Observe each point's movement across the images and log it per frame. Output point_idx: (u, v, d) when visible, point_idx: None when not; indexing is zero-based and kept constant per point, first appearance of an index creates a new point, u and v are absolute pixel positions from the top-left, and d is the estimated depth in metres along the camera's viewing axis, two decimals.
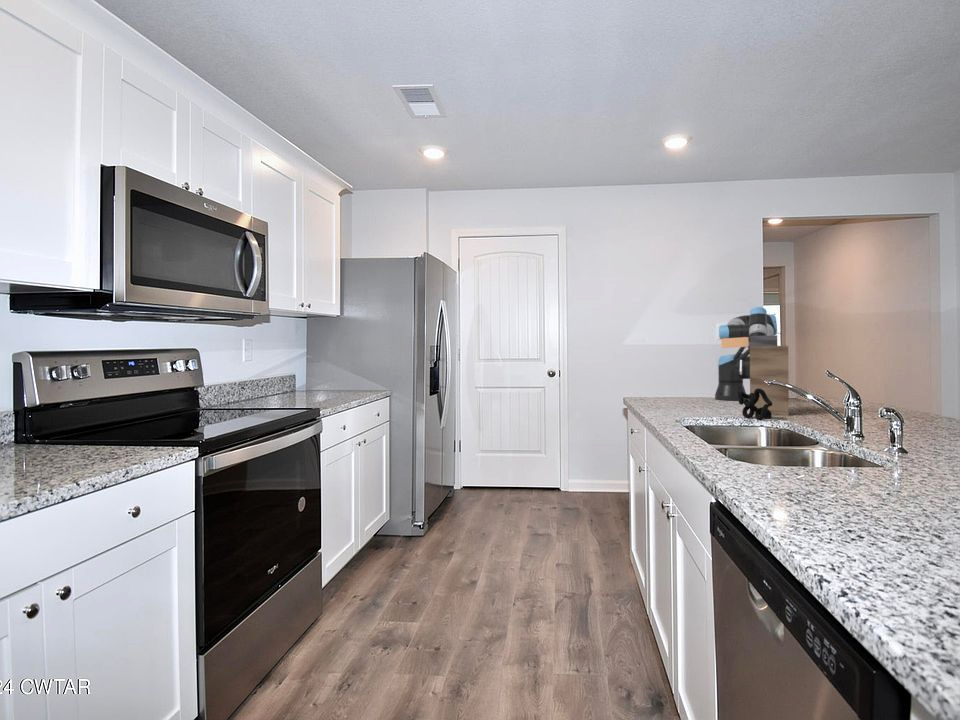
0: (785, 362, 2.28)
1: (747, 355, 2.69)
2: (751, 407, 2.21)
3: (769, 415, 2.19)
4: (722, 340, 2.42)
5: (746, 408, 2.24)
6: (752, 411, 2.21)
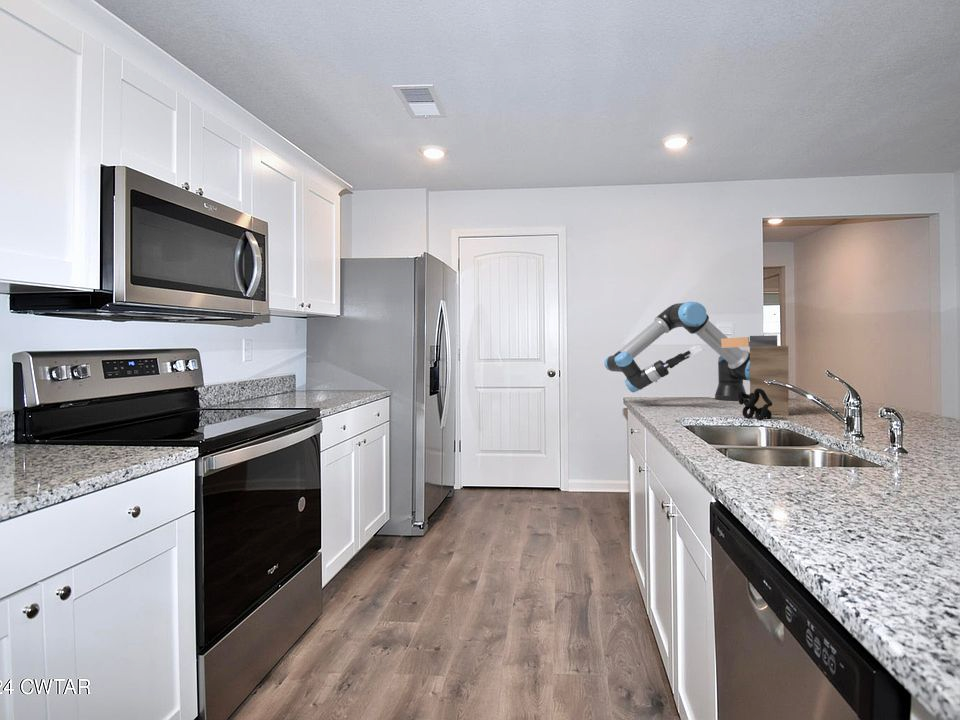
0: (785, 362, 2.28)
1: None
2: (751, 407, 2.21)
3: (769, 415, 2.19)
4: (722, 340, 2.42)
5: (746, 408, 2.24)
6: (752, 411, 2.21)
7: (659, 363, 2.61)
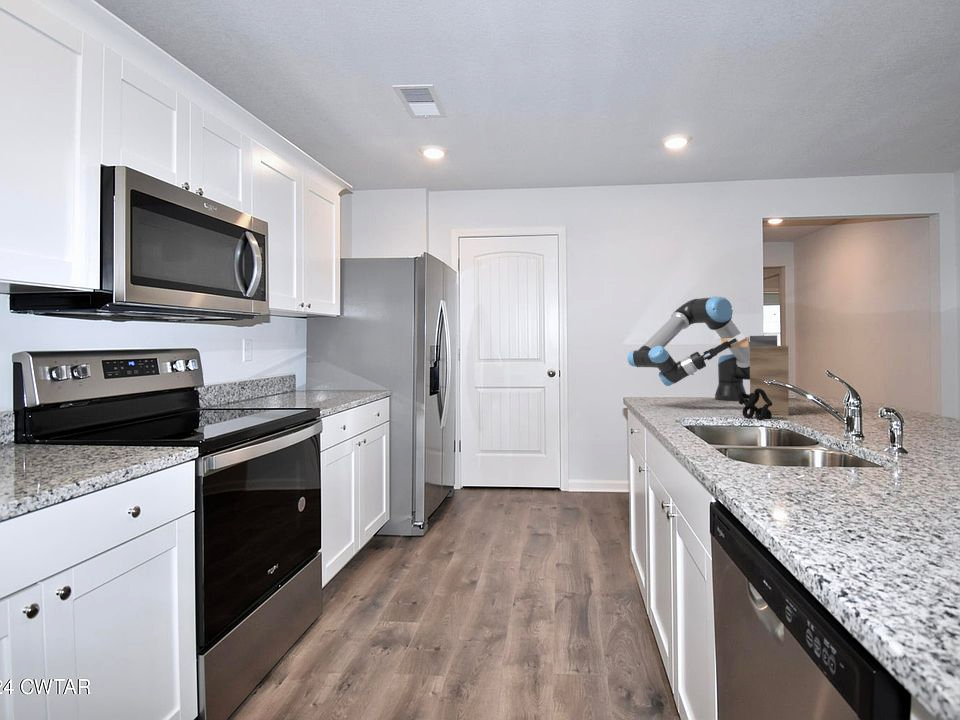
0: (785, 362, 2.28)
1: None
2: (751, 407, 2.21)
3: (769, 415, 2.19)
4: (722, 340, 2.42)
5: (746, 408, 2.24)
6: (752, 411, 2.21)
7: (696, 355, 2.46)
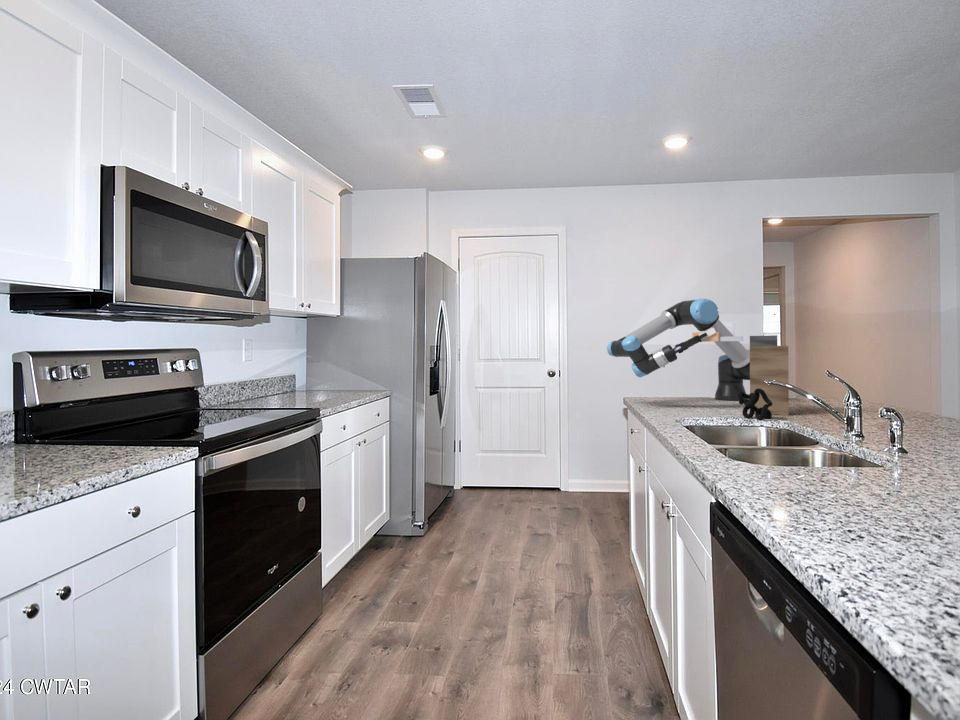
0: (785, 362, 2.28)
1: None
2: (751, 407, 2.21)
3: (769, 415, 2.19)
4: (693, 334, 2.48)
5: (746, 408, 2.24)
6: (752, 411, 2.21)
7: (668, 348, 2.52)
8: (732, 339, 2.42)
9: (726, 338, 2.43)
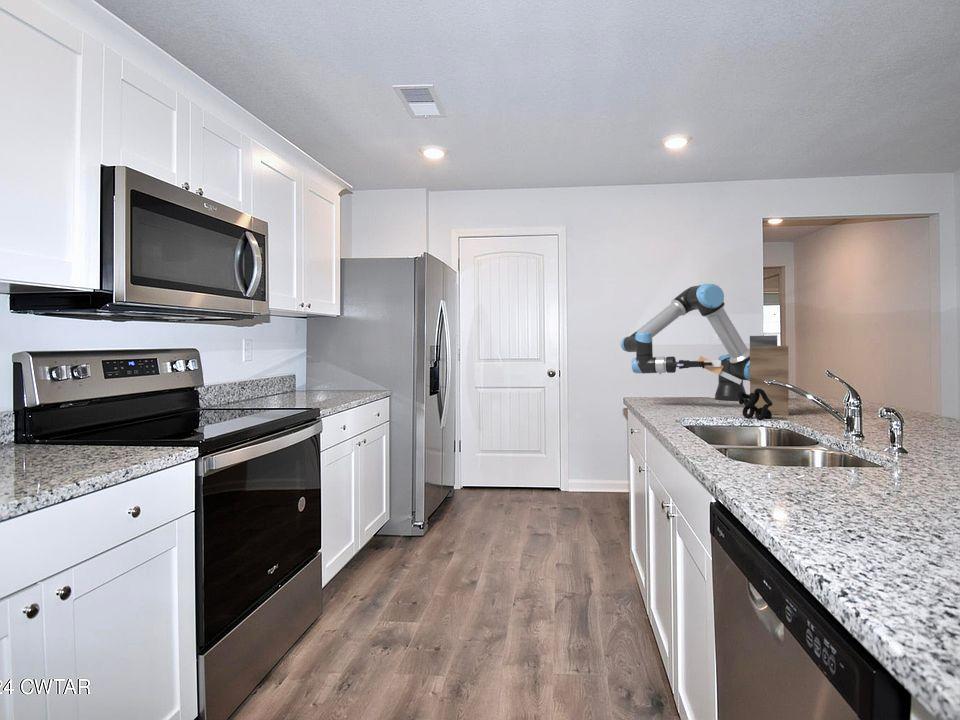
0: (785, 362, 2.28)
1: (693, 362, 2.60)
2: (751, 407, 2.21)
3: (769, 415, 2.19)
4: (700, 358, 2.55)
5: (746, 408, 2.24)
6: (752, 411, 2.21)
7: (672, 359, 2.60)
8: (731, 378, 2.50)
9: (726, 375, 2.51)
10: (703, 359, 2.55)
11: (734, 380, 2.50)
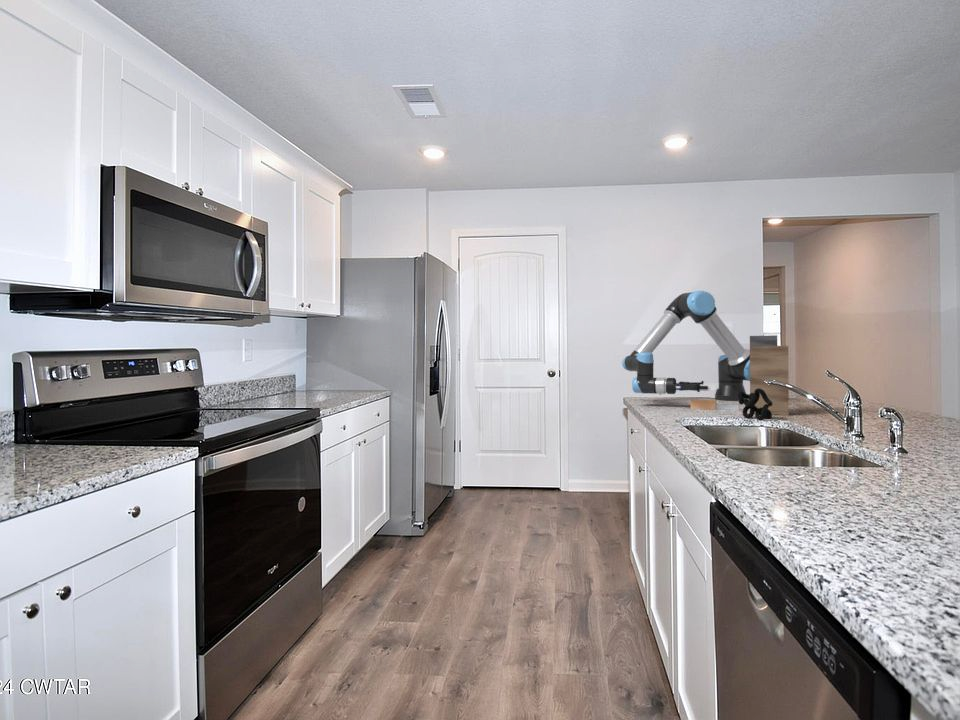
0: (785, 362, 2.28)
1: (693, 383, 2.63)
2: (751, 407, 2.21)
3: (769, 415, 2.19)
4: (691, 401, 2.58)
5: (746, 408, 2.24)
6: (752, 411, 2.21)
7: (672, 381, 2.61)
8: (728, 408, 2.52)
9: (723, 406, 2.53)
10: (694, 401, 2.58)
11: (732, 408, 2.51)
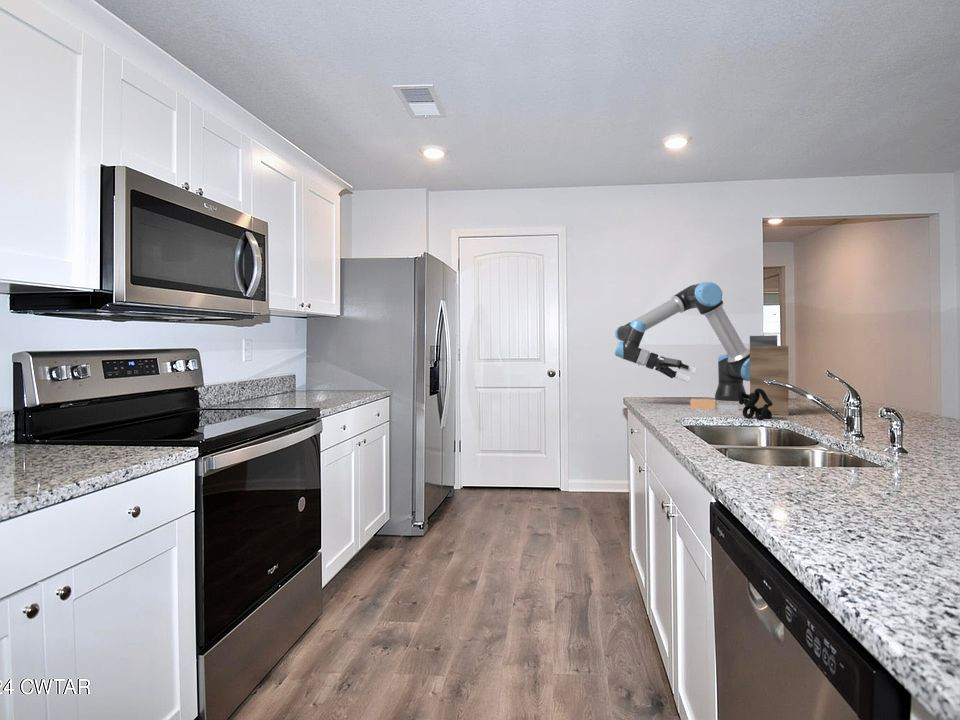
0: (785, 362, 2.28)
1: (669, 368, 2.70)
2: (751, 407, 2.21)
3: (769, 415, 2.19)
4: (691, 401, 2.58)
5: (746, 408, 2.24)
6: (752, 411, 2.21)
7: (656, 355, 2.66)
8: (728, 408, 2.52)
9: (723, 406, 2.53)
10: (694, 401, 2.58)
11: (732, 408, 2.51)
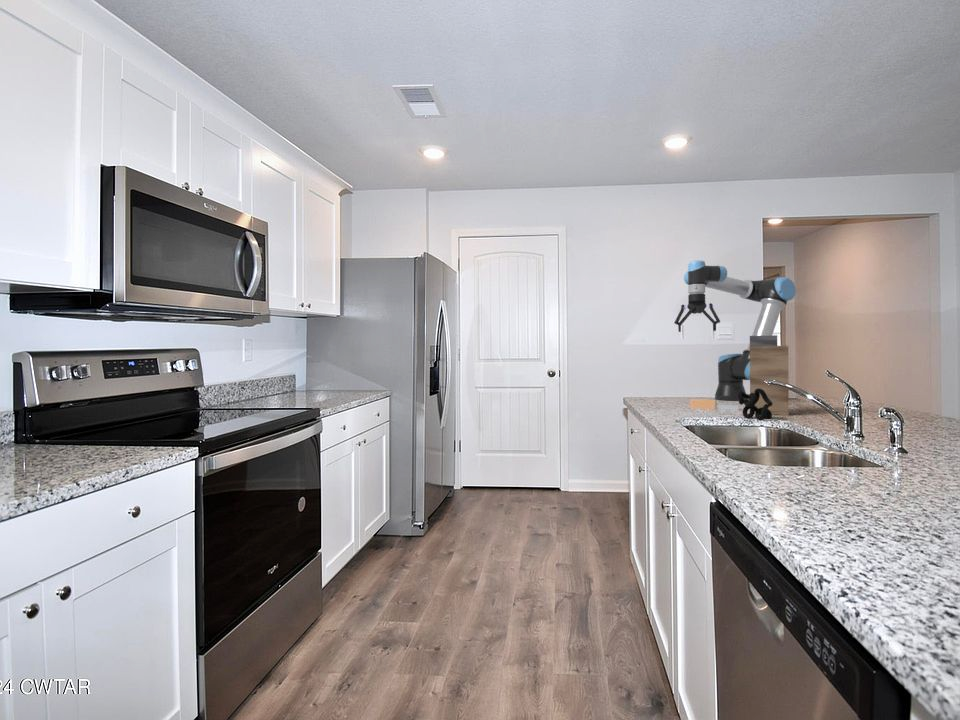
0: (785, 362, 2.28)
1: (687, 317, 2.73)
2: (751, 407, 2.21)
3: (769, 415, 2.19)
4: (691, 401, 2.58)
5: (746, 408, 2.24)
6: (752, 411, 2.21)
7: None
8: (728, 408, 2.52)
9: (723, 406, 2.53)
10: (694, 401, 2.58)
11: (732, 408, 2.51)
